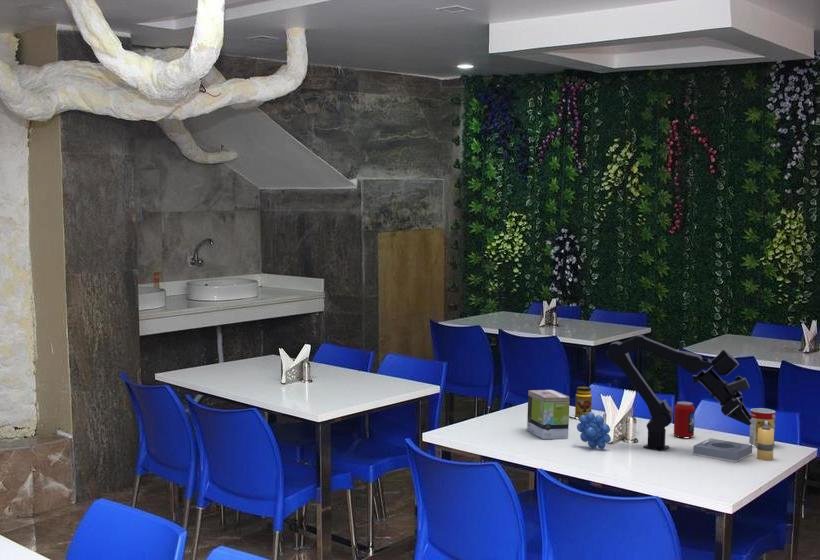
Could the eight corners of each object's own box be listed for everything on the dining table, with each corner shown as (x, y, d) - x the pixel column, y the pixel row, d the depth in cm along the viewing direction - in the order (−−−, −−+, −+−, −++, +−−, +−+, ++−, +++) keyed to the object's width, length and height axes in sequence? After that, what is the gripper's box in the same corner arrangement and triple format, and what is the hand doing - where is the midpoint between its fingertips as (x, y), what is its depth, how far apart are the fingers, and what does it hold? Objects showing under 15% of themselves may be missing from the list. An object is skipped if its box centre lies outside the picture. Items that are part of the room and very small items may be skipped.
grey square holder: (736, 462, 296) (736, 452, 296) (693, 454, 305) (693, 445, 305) (752, 454, 307) (752, 444, 307) (710, 447, 316) (710, 437, 316)
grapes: (571, 448, 311) (572, 412, 310) (578, 444, 317) (579, 409, 316) (606, 453, 305) (607, 416, 305) (612, 449, 311) (613, 413, 310)
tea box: (569, 438, 325) (570, 396, 324) (542, 440, 323) (543, 397, 322) (552, 429, 340) (553, 388, 339) (526, 430, 337) (527, 389, 336)
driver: (770, 461, 299) (771, 423, 298) (754, 458, 302) (755, 421, 301) (775, 458, 302) (776, 420, 302) (759, 455, 305) (761, 418, 305)
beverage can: (696, 439, 327) (697, 404, 327) (676, 438, 328) (677, 404, 327) (690, 434, 334) (691, 401, 333) (671, 434, 334) (672, 400, 334)
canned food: (778, 448, 316) (780, 412, 316) (756, 448, 315) (758, 413, 314) (766, 442, 324) (767, 407, 323) (744, 443, 323) (746, 408, 322)
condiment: (583, 421, 354) (583, 389, 354) (566, 417, 361) (567, 386, 360) (596, 419, 359) (597, 387, 358) (580, 415, 365) (581, 384, 365)
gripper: (733, 373, 295) (770, 410, 292) (735, 364, 313) (770, 400, 309) (706, 396, 298) (742, 434, 295) (709, 386, 316) (743, 422, 313)
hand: (750, 421), depth 303 cm, fingers open, 9 cm apart
